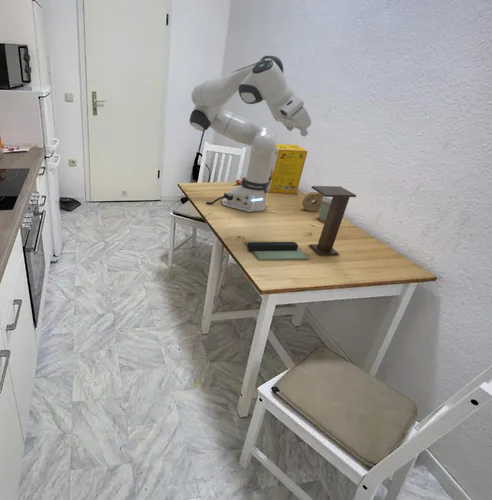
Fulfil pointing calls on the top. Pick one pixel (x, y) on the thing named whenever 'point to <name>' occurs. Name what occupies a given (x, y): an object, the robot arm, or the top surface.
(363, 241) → the top surface
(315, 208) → the stone disc
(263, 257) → the base pad
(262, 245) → the black bar
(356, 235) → the top surface
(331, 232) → the shelf stand
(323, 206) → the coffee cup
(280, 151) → the packaging box
